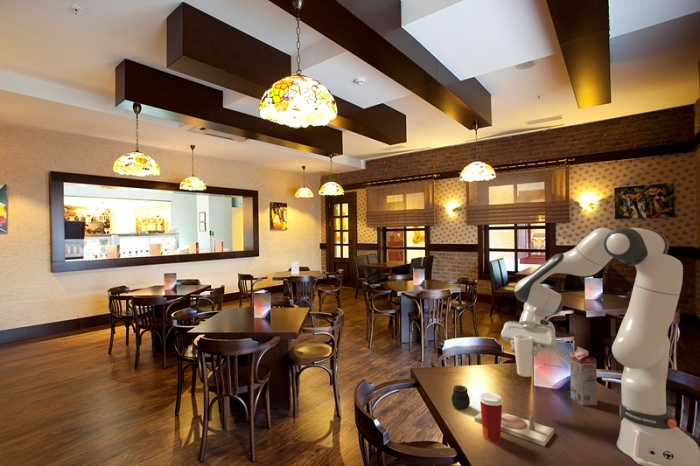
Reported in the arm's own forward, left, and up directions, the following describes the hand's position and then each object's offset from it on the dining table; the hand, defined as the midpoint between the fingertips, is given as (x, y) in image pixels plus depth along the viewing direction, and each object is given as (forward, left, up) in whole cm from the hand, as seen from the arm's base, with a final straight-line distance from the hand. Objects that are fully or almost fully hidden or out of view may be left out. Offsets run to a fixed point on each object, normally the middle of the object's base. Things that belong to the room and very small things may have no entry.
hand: (523, 353), depth 141 cm
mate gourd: (+20, +14, -23) cm, 34 cm away
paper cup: (+2, +27, -23) cm, 36 cm away
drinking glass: (0, -1, -9) cm, 9 cm away
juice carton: (-15, -26, -23) cm, 38 cm away
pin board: (-1, +15, -23) cm, 27 cm away
